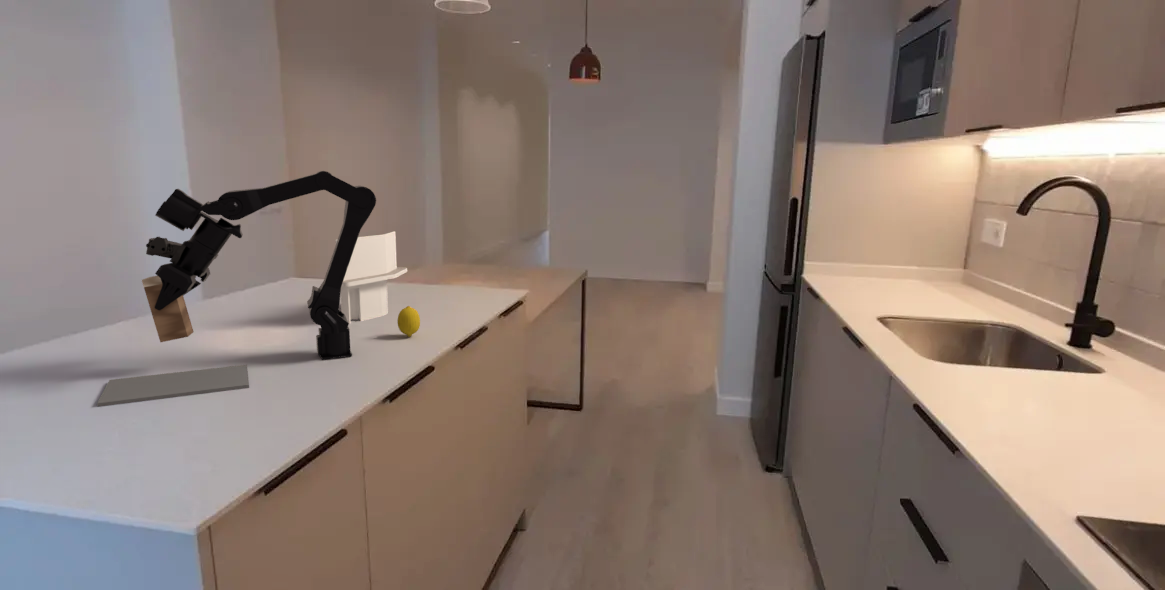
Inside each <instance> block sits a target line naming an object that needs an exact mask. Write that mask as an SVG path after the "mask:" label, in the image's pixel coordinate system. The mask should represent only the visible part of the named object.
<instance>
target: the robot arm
mask: <svg viewBox="0 0 1165 590" xmlns="http://www.w3.org/2000/svg"><path fill="white" fill-rule="evenodd" d="M320 191H326V192H328V193H330V194H332V195H334V196H336V197H338V198H340V199H341V200H344V201H345V203H344V210H343V220H342V221H343V223H342V226H341V228H340V231H339V234H338V237H337V239H338V240H337V243H336V242H335V247H334V249H333V252H332V255H331V258H330V260H329V261H330V262H329V265H328V267H327V271H326V272H325V276H324V279H323V281H322V282H321V284H320V286H319V287H318V286H317V287H316V286H315V285H313V286H312V289H311V295H310V297H309V299H307V301H306V302H307V309H309V310H308V311H309V316H310V319H311V320H312V322H313V323H314V324H316V325H318V326H320V327H318V334H317V335H316V336H315V339H316V340H315V341H316V353H317V355H318V356H320V358H321V360H329V359H330V360H331V359H340V358H348V357H352V356H353V353H352V351H351V339H350V337H351V335H350V327H349V325H350V324H349V323H348V321H347V318H346V316H345V314H343V313H342V310H340V304H341V286H342V283H343V280H344V277H345V274H346V271H347V268H348V265H349V262H350V259H351V256H352V253H353V250H354V247H355V245H356V242H357V239H358V237H360V236H359V235H360V233H361V230H362V228H363V226H364V225H365V223H366V222H367V220H368V219H369V218H370V216H371V215H372V213H373V212H372V211H373V210H374V208H376V207H375V206H376V204H377V196H376V195H375V192H373V191H372V189H371V188H368V187H367V186H363V185H355V186H354V185H352V184H350V183H348V182H346V181H345V180H342V179H340V178H339V177H336V176H335V175H332V173H330V172H329V171H326V170H320V171H317V172H316V173H312V174H309V175H306V176H302V177H299V178H294V179H291V180H287V181H284V182H279V183H277V184H273V185H268V186H266V187H260V188H246V189H237V190H230V191H226V192H224V193H223V194H221V195H220V196H219V197H218V199H216V200H213V201H206V202H205V203H201V202H200V201H198V200H196V199H195V198H194V197H191V195H188V194H187V193H186V192H184V191H183V190H181V189H180V188H175V189H174V191H173V192H172V193H171V194H170V195H169V197H168V198H167V199H166V200H165V201H163V202H162V204H161V205H160V207H159V208H158V209H157V211H156V213H155V215H154V216H155V217H158V218H159V219H161V220H163V221H164V222H166V223H168V224H170V225H171V226H173V227H175V228H177V229H179V230H180V231H182V232H184V231H185V230H188V229H189V230H191V231H193V229H194V228H195V227H196V226H197V224H198V223H199V222H200V220H201V218H204V219H203V221H202V222H201V223H200V224H199V226H198V227H197V229H196V230H195V231H194V232H193V234H192V236H191V237H190V239H188V240H185V241H183V242H182V243H180V242H176V241H173V240H168V238H167V237H161V236H156V237H152V238H149V239H148V242H147V243H146V244H145V247H146V251H145V252H146V255H148V256H158V257H162V258H167V259H170V260H169V263H164V264H161V265H160V266H159V267H158V269H157V270H156V271H155V273H154V274H155V276H159V277H160V278H161V281H162V284H163V285H162V288H161V291H160V294H159V296H158V299H157V302H156V304H155V309H157V310H161V309H163V308H164V307H166V306H167V305H169V304H170V303H172V302H173V301H175V300H176V299H178V298H179V297H181V296H182V295H183V296H185V295H187V294H188V293H189V292H191V291H192V290H194V289H195V288H197V287H199V286H200V285H201V284H202V283H201V282H205V281H207V279H208V278H209V277H210V275H211V271H210V267H211V266H210V265H211V264H212V263H213V261H214V260H216V259H217V258H218V256H219V253H220V252H221V250H222V248H224V246H225V245H226V243H227V242H228V241H229V239H230V238H231V236H232V235H233V236H235V237H237V238H239V239H242V237H243V232H242V228H241V227H242V225H241V224H240V223H238V224H232V223H231V222H230V221H238V220H241V219H244V218H246V217H248V216H249V215H252V214H254V213H256V212H258V211H260V210H261V209H264V208H266V207H267V206H270V205H274V204H277V203H282V202H284V201H288V200H291V199H295V198H299V197H303V196H305V195H309V194H313V193H316V192H320ZM212 216H221V217H220V218H219V219H218V220H217V219H215V218H213V217H212ZM228 220H229V221H228ZM197 277H198V278H200V281H198V280H196V278H197Z"/></svg>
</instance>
